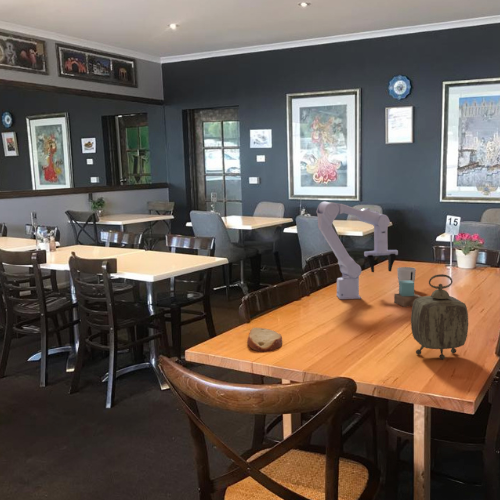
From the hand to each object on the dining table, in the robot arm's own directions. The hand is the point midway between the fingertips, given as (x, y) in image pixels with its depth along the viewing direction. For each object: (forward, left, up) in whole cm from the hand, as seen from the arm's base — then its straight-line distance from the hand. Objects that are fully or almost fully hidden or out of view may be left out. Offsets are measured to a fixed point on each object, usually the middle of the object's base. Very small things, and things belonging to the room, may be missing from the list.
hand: (381, 271), depth 245 cm
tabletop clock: (-5, -83, -11) cm, 84 cm away
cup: (+14, +7, -11) cm, 19 cm away
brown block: (+6, -18, -11) cm, 22 cm away
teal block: (+6, -18, -7) cm, 20 cm away
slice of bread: (-57, -61, -11) cm, 84 cm away
